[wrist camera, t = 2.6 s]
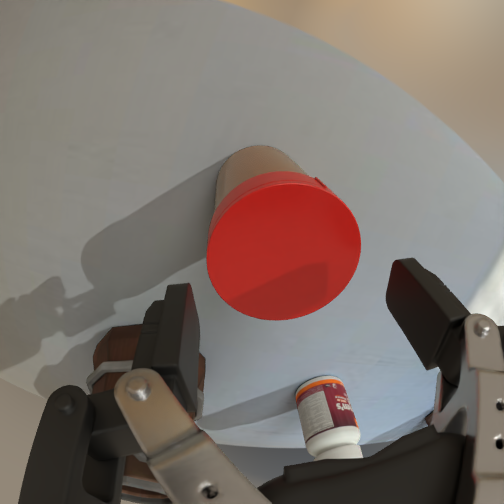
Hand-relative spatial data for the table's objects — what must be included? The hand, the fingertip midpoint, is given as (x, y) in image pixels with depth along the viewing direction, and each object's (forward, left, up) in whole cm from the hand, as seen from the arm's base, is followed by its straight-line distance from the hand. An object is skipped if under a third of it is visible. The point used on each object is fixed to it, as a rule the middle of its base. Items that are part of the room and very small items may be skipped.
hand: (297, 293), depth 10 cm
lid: (0, 0, -2) cm, 2 cm away
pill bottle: (+19, +18, -12) cm, 29 cm away
